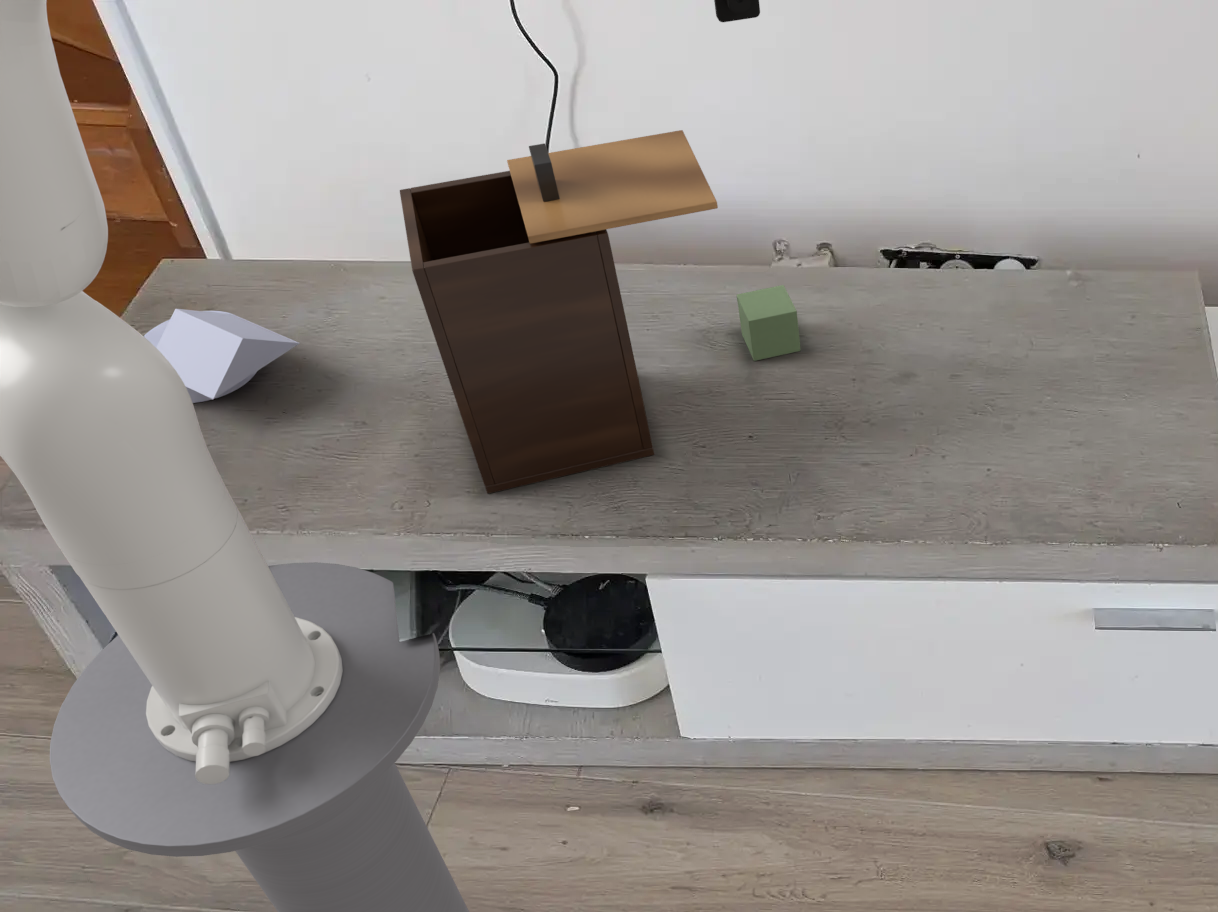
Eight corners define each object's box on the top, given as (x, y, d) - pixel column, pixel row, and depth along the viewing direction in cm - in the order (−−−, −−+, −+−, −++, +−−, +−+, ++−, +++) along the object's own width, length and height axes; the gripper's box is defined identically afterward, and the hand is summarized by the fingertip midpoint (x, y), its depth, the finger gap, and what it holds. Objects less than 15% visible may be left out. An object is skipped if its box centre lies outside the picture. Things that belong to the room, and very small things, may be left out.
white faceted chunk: (313, 373, 118) (215, 330, 123) (286, 311, 113) (185, 268, 118) (228, 430, 113) (129, 382, 117) (196, 366, 108) (94, 319, 112)
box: (654, 455, 111) (608, 233, 96) (487, 494, 107) (412, 270, 92) (628, 374, 118) (581, 157, 103) (471, 409, 115) (399, 189, 100)
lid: (718, 208, 98) (711, 164, 95) (529, 244, 94) (518, 198, 91) (683, 136, 105) (677, 93, 103) (508, 166, 102) (497, 123, 99)
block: (800, 351, 121) (796, 310, 118) (753, 361, 120) (748, 321, 117) (787, 324, 124) (783, 284, 121) (741, 334, 123) (736, 294, 120)
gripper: (617, -298, 92) (658, -29, 104) (668, -231, 80) (707, 60, 93) (723, -307, 93) (751, -42, 106) (788, -243, 82) (810, 44, 95)
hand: (730, 3), depth 100 cm, fingers open, 3 cm apart
